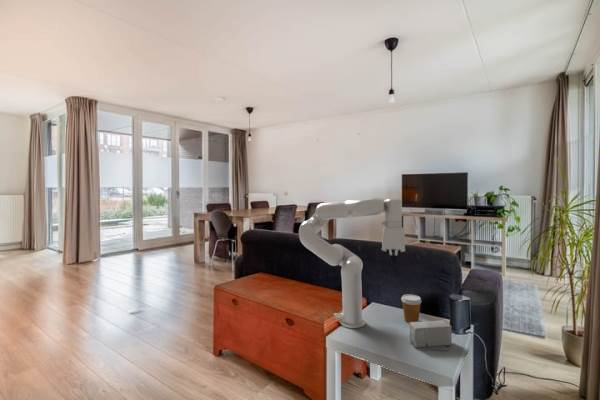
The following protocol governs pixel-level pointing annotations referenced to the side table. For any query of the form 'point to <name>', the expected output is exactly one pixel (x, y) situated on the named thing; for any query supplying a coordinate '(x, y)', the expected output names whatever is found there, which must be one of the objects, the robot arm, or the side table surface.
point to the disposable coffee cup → (411, 307)
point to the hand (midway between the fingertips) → (393, 263)
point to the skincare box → (430, 333)
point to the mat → (434, 348)
